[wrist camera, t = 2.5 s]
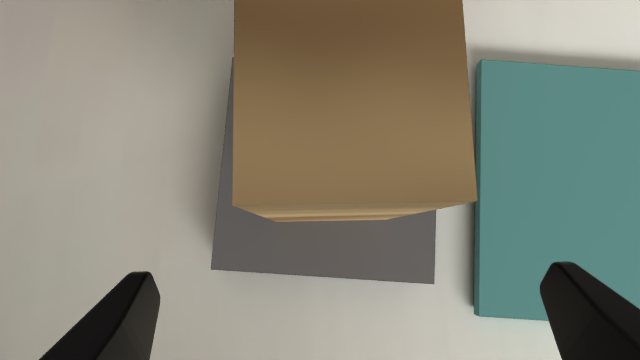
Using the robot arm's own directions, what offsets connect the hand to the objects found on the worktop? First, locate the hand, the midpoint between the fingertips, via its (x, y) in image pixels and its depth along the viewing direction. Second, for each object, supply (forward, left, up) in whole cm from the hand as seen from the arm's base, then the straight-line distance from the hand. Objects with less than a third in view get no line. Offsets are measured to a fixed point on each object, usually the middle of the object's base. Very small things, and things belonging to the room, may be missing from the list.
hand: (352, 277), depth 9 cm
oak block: (+3, -3, -9) cm, 10 cm away
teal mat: (-7, -13, -11) cm, 18 cm away
